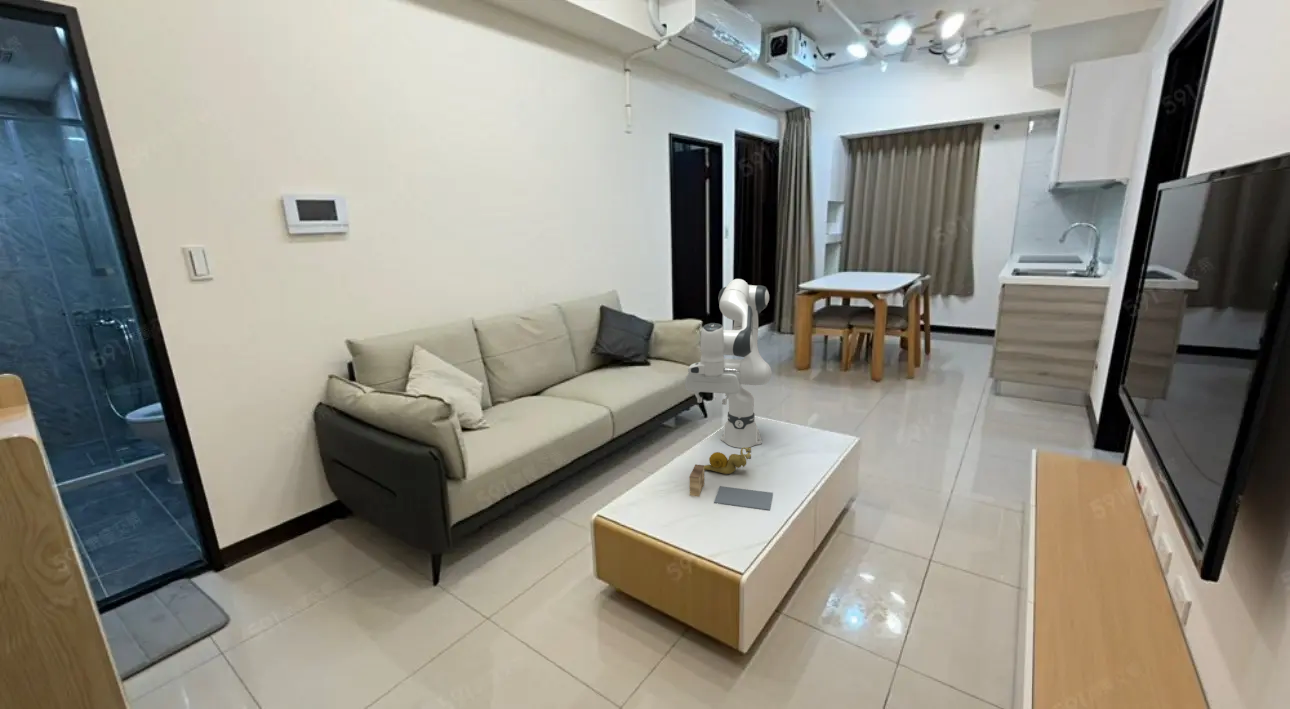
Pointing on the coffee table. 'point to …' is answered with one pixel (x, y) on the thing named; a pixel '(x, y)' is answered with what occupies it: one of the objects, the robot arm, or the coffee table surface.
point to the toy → (727, 461)
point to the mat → (744, 498)
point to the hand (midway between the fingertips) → (712, 403)
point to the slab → (696, 480)
